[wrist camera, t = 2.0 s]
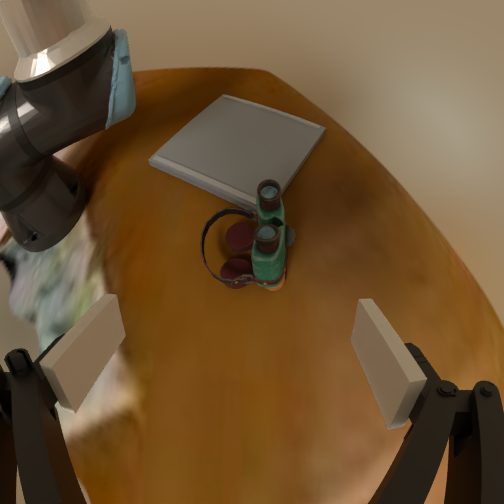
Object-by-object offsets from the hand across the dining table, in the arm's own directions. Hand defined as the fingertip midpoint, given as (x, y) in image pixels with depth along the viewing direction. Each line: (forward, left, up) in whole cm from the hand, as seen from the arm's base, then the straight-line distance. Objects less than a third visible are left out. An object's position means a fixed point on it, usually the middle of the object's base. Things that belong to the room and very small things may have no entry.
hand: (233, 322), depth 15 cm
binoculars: (-5, +9, -16) cm, 19 cm away
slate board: (-16, +25, -16) cm, 34 cm away
